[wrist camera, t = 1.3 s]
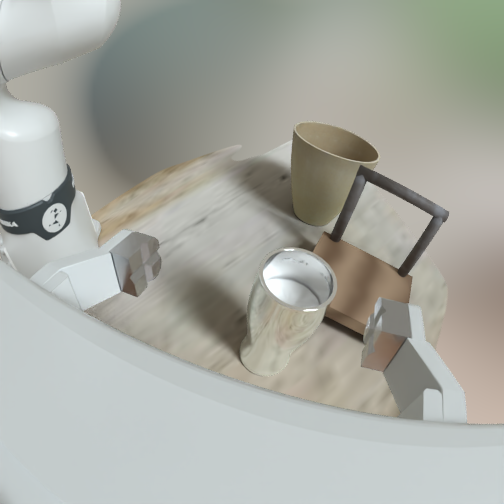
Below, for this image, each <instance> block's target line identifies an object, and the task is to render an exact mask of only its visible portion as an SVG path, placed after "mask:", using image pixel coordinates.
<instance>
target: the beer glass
mask: <svg viewBox="0 0 504 504" xmlns="http://www.w3.org/2000/svg"><path fill="white" fill-rule="evenodd" d="M336 292H337V279H336V276H335V274H334V272H333V270H332V268H331V267H330V266H329V264H328V263H327V262H326V261H325V260H323V259H322V258H321V257H320V256H318V255H316V254H315V253H313V252H311V251H308V250H305V249H302V248H296V247H284V248H279V249H276V250H274V251H272V252H270V253H269V254H267V255H266V256H265V257H264V259H263V260H262V262H261V264H260V267H259V271H258V273H257V275H256V278H255V280H254V283H253V286H252V289H251V292H250V295H249V300H248V305H247V335H246V337H245V338H244V339H243V341H242V343H241V345H240V350H239V354H240V359H241V361H242V363H243V365H244V366H245V367H246V368H247V369H248V370H249V371H250V372H252V373H254V374H256V375H259V376H272V375H275V374H278V373H279V372H281V371H282V370H283V369H284V368H285V367H286V365H287V364H288V361H289V358H290V353H292V352H293V351H294V350H295V349H297V348H298V347H299V346H301V345H302V344H303V343H304V342H305V341H306V340H308V339H309V338H310V337H311V336H312V334H313V333H314V332H315V331H316V329H317V328H318V327H319V325H320V323H321V322H322V320H323V318H324V317H325V315H326V313H327V311H328V309H329V307H330V304H331V302H332V300H333V299H334V297H335V295H336Z"/></svg>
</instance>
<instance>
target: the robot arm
mask: <svg viewBox="0 0 504 504" xmlns="http://www.w3.org/2000/svg"><path fill="white" fill-rule="evenodd" d="M120 8H121V1H120V0H0V233H1V234H0V255H1V258H2V260H1V259H0V504H504V424H467V415H466V402H465V392H464V391H463V389H462V388H461V386H460V385H459V383H458V382H457V380H456V379H455V378H454V376H453V375H452V373H451V372H450V370H449V369H448V367H447V366H446V365H445V363H444V362H443V360H442V359H441V358H440V356H439V355H438V354H437V352H436V351H435V349H434V348H433V347H432V345H431V344H430V343H429V342H426V340H425V332H424V325H423V318H422V311H421V307H420V306H418V305H413V304H409V303H403V302H398V301H394V300H390V299H386V298H382V297H379V298H378V300H377V302H376V304H375V312H374V313H373V314H371V315H370V317H369V319H368V321H367V324H366V327H365V331H364V337H363V342H364V343H365V347H364V349H363V351H362V359H361V367H364V368H368V369H372V370H377V371H381V372H383V374H384V376H385V379H386V381H387V383H388V385H389V388H390V390H391V392H392V394H393V397H394V399H395V401H396V404H397V406H398V408H399V411H400V413H401V414H400V415H399V416H398V417H390V416H384V415H377V414H371V413H366V412H360V411H355V410H350V409H345V408H340V407H335V406H331V405H326V404H322V403H318V402H314V401H309V400H305V399H302V398H298V397H294V396H290V395H286V394H283V393H279V392H276V391H272V390H269V389H266V388H262V387H259V386H256V385H253V384H249V383H246V382H243V381H240V380H237V379H234V378H231V377H228V376H226V375H223V374H220V373H217V372H214V371H212V370H209V369H206V368H204V367H201V366H199V365H196V364H193V363H191V362H188V361H186V360H183V359H181V358H178V357H176V356H174V355H171V354H169V353H167V352H164V351H162V350H160V349H157V348H155V347H153V346H151V345H148V344H146V343H144V342H142V341H140V340H138V339H135V338H133V337H131V336H129V335H127V334H125V333H123V332H121V331H119V330H117V329H115V328H113V327H111V326H109V325H107V324H105V323H103V322H101V321H99V320H98V319H96V318H94V317H92V316H90V315H88V314H86V313H85V312H83V311H84V310H86V309H88V308H90V307H92V306H94V305H96V304H98V303H100V302H102V301H104V300H106V299H108V298H110V297H112V296H114V295H116V294H118V293H120V292H121V291H122V292H125V293H127V294H130V295H133V296H135V297H138V296H139V295H140V294H141V293H142V292H143V291H144V290H145V289H146V288H147V282H149V281H152V280H154V279H155V278H156V276H157V275H158V273H159V271H160V269H161V257H160V255H159V254H158V252H157V250H158V249H159V242H158V240H157V239H156V238H155V237H152V236H149V235H145V234H142V233H139V232H135V231H132V230H128V229H123V230H122V231H120V232H119V233H118V234H116V235H115V236H114V237H113V238H111V239H110V240H109V241H108V242H106V243H105V244H104V245H103V246H101V247H100V248H99V247H98V236H99V234H100V231H101V225H100V223H99V221H97V220H95V219H92V218H91V215H90V212H89V209H88V206H87V203H86V200H85V197H84V194H83V193H82V192H79V191H78V190H76V189H75V185H74V178H73V175H72V173H71V169H70V167H69V165H68V164H66V159H65V154H64V149H63V143H62V137H61V131H60V124H59V120H58V117H57V116H56V114H55V113H54V112H53V110H51V109H50V108H49V107H47V106H45V105H43V104H40V103H36V102H29V101H23V100H19V99H17V98H15V97H14V96H12V95H11V93H10V92H9V91H8V89H7V86H6V82H8V81H9V80H11V79H14V78H17V77H19V76H22V75H25V74H28V73H31V72H34V71H37V70H40V69H44V68H47V67H50V66H54V65H58V64H61V63H64V62H66V61H69V60H71V59H73V58H76V57H79V56H81V55H83V54H86V53H88V52H91V51H93V50H96V49H98V48H100V47H101V46H102V45H103V44H104V43H105V42H106V40H107V39H108V38H109V36H110V35H111V33H112V32H113V30H114V28H115V26H116V24H117V22H118V18H119V15H120Z"/></svg>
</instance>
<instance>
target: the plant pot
mask: <svg viewBox="0 0 504 504" xmlns="http://www.w3.org/2000/svg"><path fill="white" fill-rule="evenodd" d="M379 159H380V154H379V152H378V151H377V149H376V148H375V147H374V146H373V145H372V144H370V143H369V142H368V141H366V140H365V139H364V138H362V137H360V136H358V135H357V134H355V133H352V132H350V131H348V130H346V129H343V128H340V127H337V126H334V125H330V124H326V123H322V122H314V121H313V122H312V121H304V122H299V123H297V124H296V125H295V126H294V132H293V143H292V154H291V188H292V199H293V208H294V212H295V214H296V216H297V217H298V218H299V219H301V220H302V221H303V222H305V223H307V224H310V225H314V226H324V225H326V224H328V223H329V222H330V221H332V220H333V219H334V218H335V217H336V216H337V215H338V214H339V213H340V212H341V211H342V208H343V206H344V204H345V201H346V199H347V196H348V194H349V192H350V189H351V187H352V184H353V182H354V179H355V177H356V174H357V171H358V169H359V167H360V165H362V166H364V167H366V168H369V169H371V170H373V169H374V168H375V166H376V165H377V163H378V161H379Z"/></svg>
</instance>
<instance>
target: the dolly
mask: <svg viewBox="0 0 504 504" xmlns="http://www.w3.org/2000/svg"><path fill="white" fill-rule="evenodd" d="M367 181H368V182H370V183H372V184H374V185H376V186H379V187H380V188H382V189H384V190H386V191H388V192H390V193H392V194H394V195H396V196H398V197H400V198H402V199H403V200H406V201H407V202H409V203H411V204H413V205H415V206H416V207H418V208H420V209H422V210H424V211H425V212H427V213H429V214H430V215H432V216H433V218H432V220H431V221H430V223H429V225H428V226H427V228H426V229H425V231H424V232H423V234H422V236H421V237H420V239H419V240H418V242H417V243H416V245H415V246H414V248H413V249H412V251H411V252H410V254H409V255H408V257H407V258H406V260H405V261H404V262H403V264H402V265H401V267H400V268H399V269H397V268H395V267H393V266H391V265H389V264H388V263H386V262H384V261H382V260H380V259H378V258H376V257H374V256H372V255H370V254H368V253H366V252H365V251H363V250H361V249H359V248H357V247H355V246H353V245H351V244H349V243H347V242H345V241H343V240H341V237H342V235H343V233H344V231H345V228H346V226H347V224H348V222H349V220H350V218H351V216H352V213H353V211H354V209H355V207H356V205H357V202H358V200H359V198H360V196H361V193H362V191H363V189H364V186H365V184H366V182H367ZM448 216H449V212H448V211H446V210H445V209H443V208H442V207H440V206H438V205H436V204H435V203H433V202H431V201H430V200H428V199H426V198H424V197H422V196H421V195H419V194H417V193H415V192H414V191H412V190H410V189H408V188H406V187H404V186H402V185H400V184H399V183H397V182H395V181H393V180H391V179H389V178H387V177H385V176H383V175H381V174H379V173H377V172H375V171H373V170H371V169H369V168H366V167H364V166H362V165H360V167H359V169H358V171H357V174H356V177H355V179H354V182H353V184H352V187H351V189H350V192H349V194H348V196H347V199H346V201H345V204H344V206H343V208H342V211H341V213H340V215H339V218H338V220H337V222H336V224H335V227H334V229H333V231H332V234H329V233H327V232H325V231H324V233H323V234H322V236H321V238H320V240H319V241H318V243H317V245H316V247H315V248H314V250H313V253H315V254H316V255H318V256H320V257H321V258H322V259H323V260H325V261H326V262H327V263H328V264H329V266H330V267H331V268H332V270H333V272H334V274H335V276H336V279H337V292H336V295H335V297H334V299H333V300H332V302H331V304H330V307H329V309H328V311H327V313H326V315H325V316H327V317H329V318H331V319H332V320H334V321H336V322H338V323H340V324H342V325H344V326H346V327H348V328H350V329H352V330H354V331H356V332H358V333H360V334H362V335H364V331H365V327H366V324H367V321H368V319H369V317H370V315H371V314H373V313H374V312H375V304H376V302H377V300H378V298H379V297H382V298H386V299H390V300H394V301H398V302H403V303H409V298H410V291H411V284H412V276H410V275H408V273H409V271H410V270H411V269H412V267H413V266H414V265H415V263H416V262H417V260H418V259H419V258H420V256H421V255H422V253H423V252H424V250H425V249H426V247H427V246H428V245H429V243H430V242H431V240H432V239H433V237H434V235H435V234H436V233H437V231H438V230H439V228H440V226H441V225H442V223H443V222H445V221H446V220H447V218H448Z"/></svg>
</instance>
